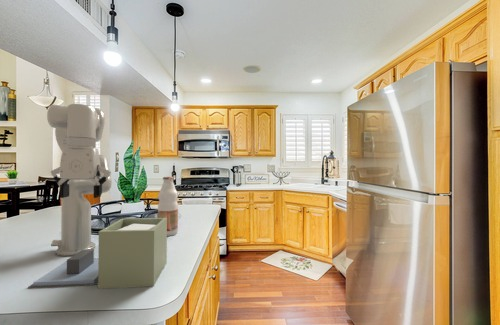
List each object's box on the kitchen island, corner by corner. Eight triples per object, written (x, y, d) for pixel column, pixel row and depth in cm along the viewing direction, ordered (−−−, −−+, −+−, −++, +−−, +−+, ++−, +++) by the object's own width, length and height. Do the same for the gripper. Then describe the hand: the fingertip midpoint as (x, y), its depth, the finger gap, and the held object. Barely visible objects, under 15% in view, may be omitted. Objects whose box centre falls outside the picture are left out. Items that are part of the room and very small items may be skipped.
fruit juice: (156, 237, 110) (156, 177, 110) (159, 231, 119) (159, 176, 119) (177, 235, 112) (177, 177, 112) (178, 230, 121) (179, 176, 121)
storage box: (98, 288, 66) (98, 231, 66) (121, 264, 81) (121, 218, 80) (153, 285, 67) (154, 230, 67) (166, 263, 82) (166, 217, 82)
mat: (28, 288, 65) (27, 287, 65) (68, 262, 82) (68, 261, 82) (96, 285, 67) (96, 284, 67) (122, 260, 84) (122, 259, 84)
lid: (33, 285, 66) (33, 266, 66) (70, 261, 82) (70, 246, 82) (93, 283, 68) (93, 264, 68) (118, 259, 84) (118, 244, 84)
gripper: (43, 142, 70) (42, 199, 70) (104, 143, 72) (103, 199, 72) (60, 143, 78) (60, 195, 78) (115, 145, 79) (115, 195, 80)
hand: (81, 197), depth 75 cm, fingers open, 9 cm apart
